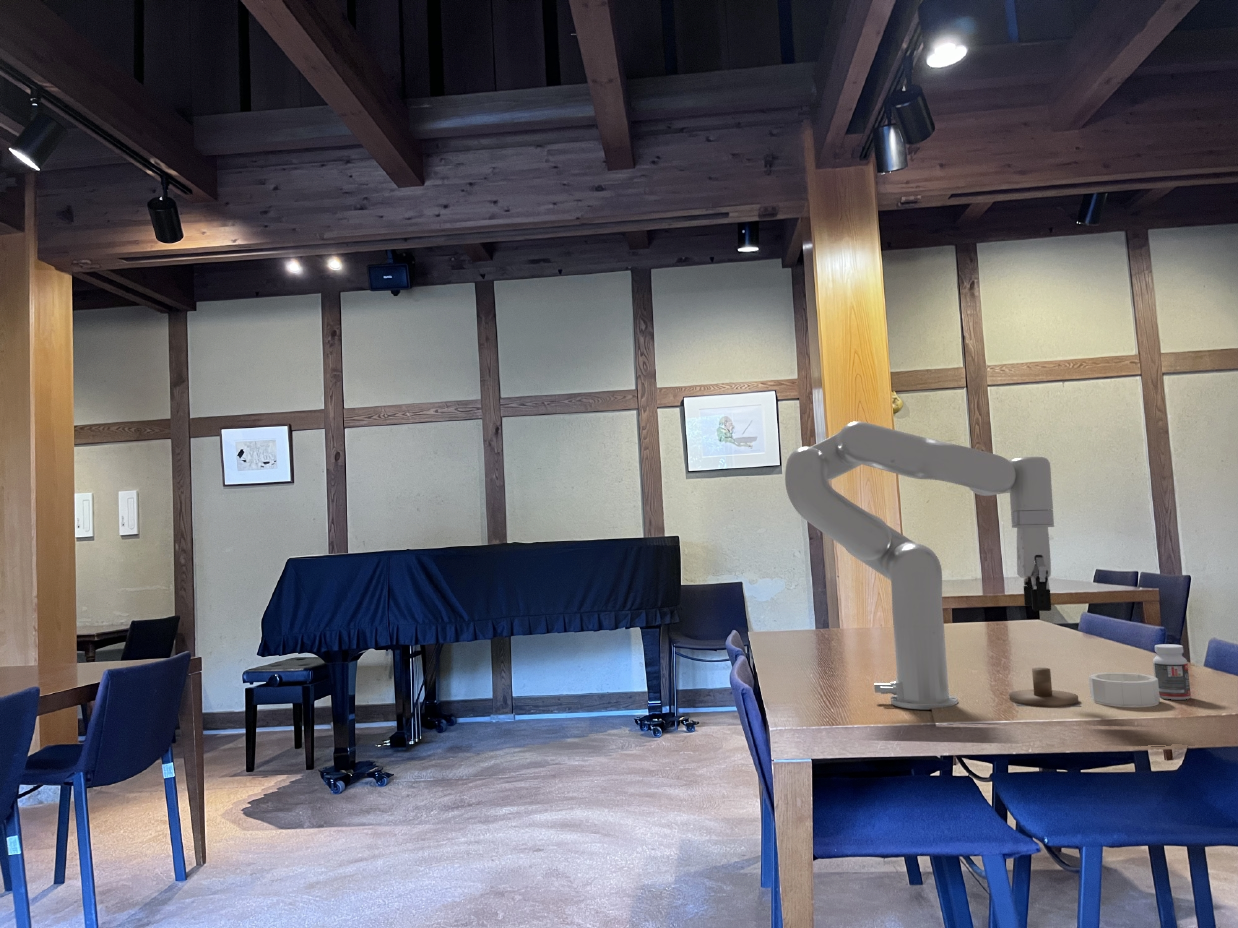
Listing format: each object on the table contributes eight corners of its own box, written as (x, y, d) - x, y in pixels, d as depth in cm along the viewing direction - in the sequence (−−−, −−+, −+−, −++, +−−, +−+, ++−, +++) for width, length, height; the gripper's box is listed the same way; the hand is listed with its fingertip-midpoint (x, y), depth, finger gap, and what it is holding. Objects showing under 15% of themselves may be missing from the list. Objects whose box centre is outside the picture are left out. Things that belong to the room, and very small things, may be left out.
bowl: (1099, 709, 162) (1097, 682, 163) (1086, 698, 173) (1084, 672, 173) (1167, 710, 159) (1164, 682, 160) (1149, 698, 170) (1147, 672, 170)
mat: (1017, 708, 166) (1016, 705, 166) (1009, 697, 177) (1008, 694, 177) (1081, 709, 163) (1081, 706, 163) (1069, 698, 174) (1069, 695, 174)
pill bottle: (1196, 700, 167) (1191, 647, 167) (1163, 700, 168) (1158, 647, 169) (1183, 694, 172) (1178, 643, 173) (1151, 695, 173) (1146, 643, 174)
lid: (1014, 706, 166) (1011, 673, 167) (1005, 694, 178) (1003, 663, 178) (1084, 706, 163) (1082, 673, 163) (1071, 694, 174) (1068, 663, 175)
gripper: (1005, 520, 182) (1010, 604, 181) (1017, 520, 165) (1023, 612, 164) (1045, 519, 180) (1050, 604, 179) (1061, 519, 163) (1067, 612, 162)
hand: (1037, 608), depth 171 cm, fingers open, 9 cm apart
